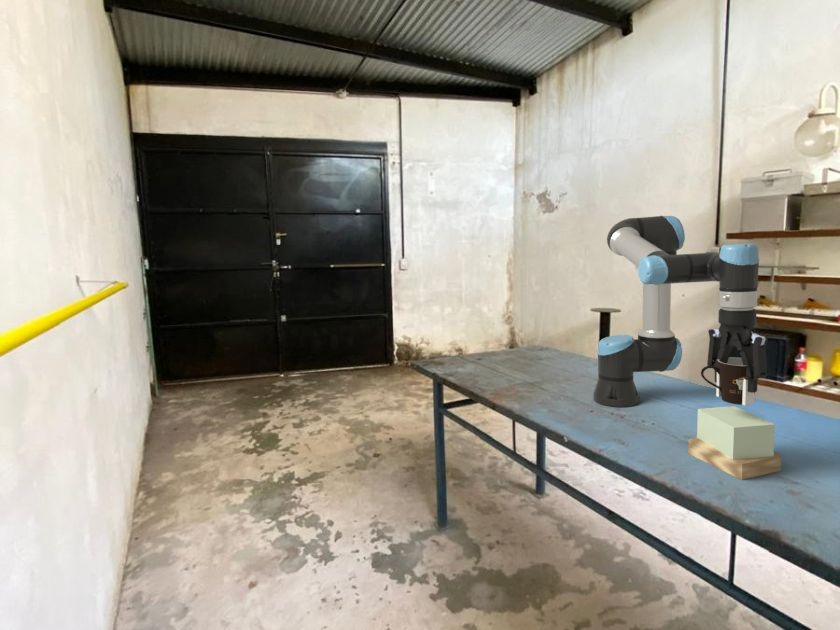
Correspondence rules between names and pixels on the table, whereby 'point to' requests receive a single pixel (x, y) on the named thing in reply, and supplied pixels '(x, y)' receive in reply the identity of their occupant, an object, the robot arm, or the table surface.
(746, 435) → the sage brick
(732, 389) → the coffee mug
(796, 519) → the table surface
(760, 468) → the oak block
